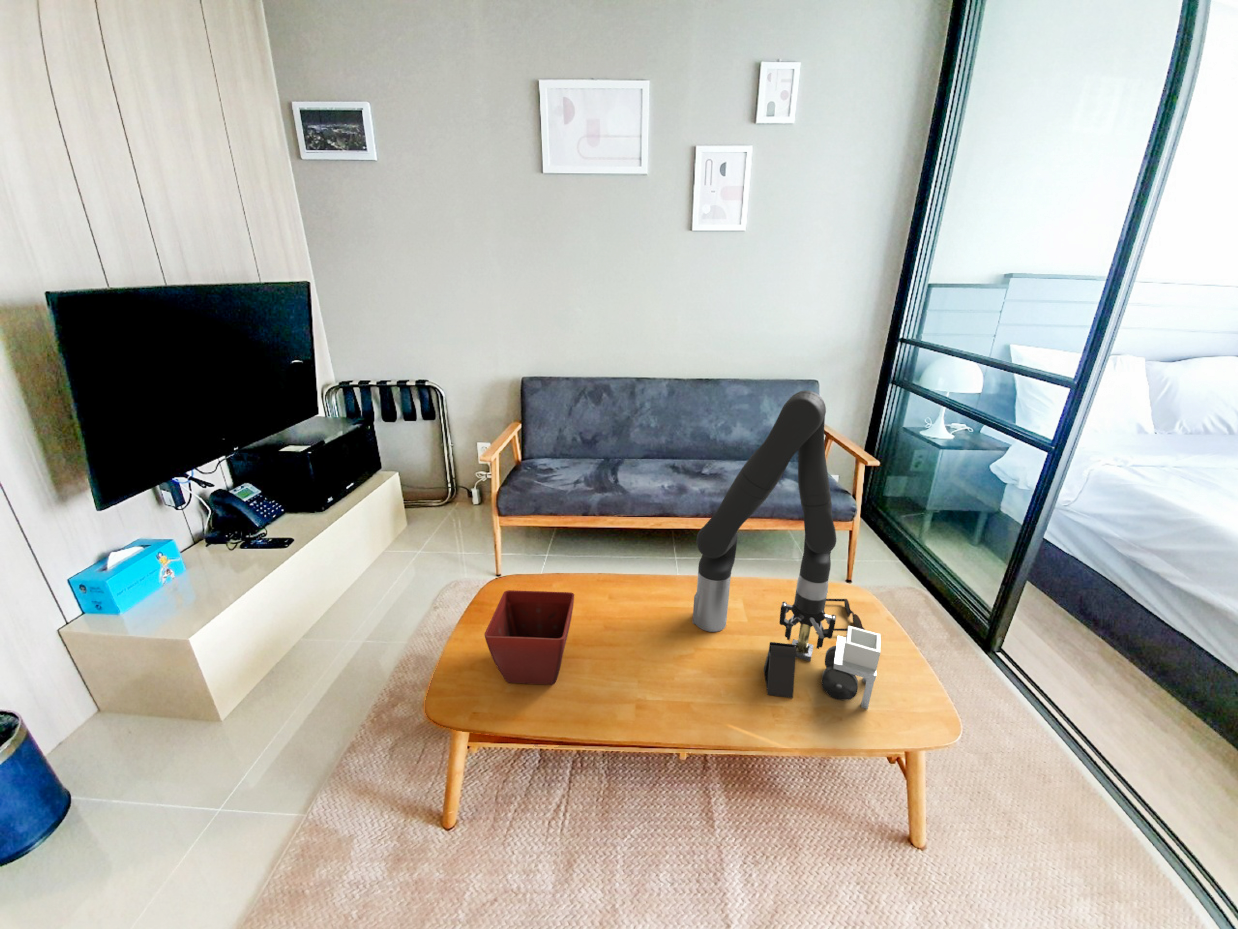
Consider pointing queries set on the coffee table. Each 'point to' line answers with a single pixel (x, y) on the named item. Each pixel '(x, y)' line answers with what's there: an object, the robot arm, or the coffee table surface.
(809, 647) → the pin socket
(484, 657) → the coffee table surface
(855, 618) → the eyeglasses
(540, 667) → the plant pot
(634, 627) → the coffee table surface
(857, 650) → the tray
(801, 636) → the pin
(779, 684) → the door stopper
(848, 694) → the trolley
